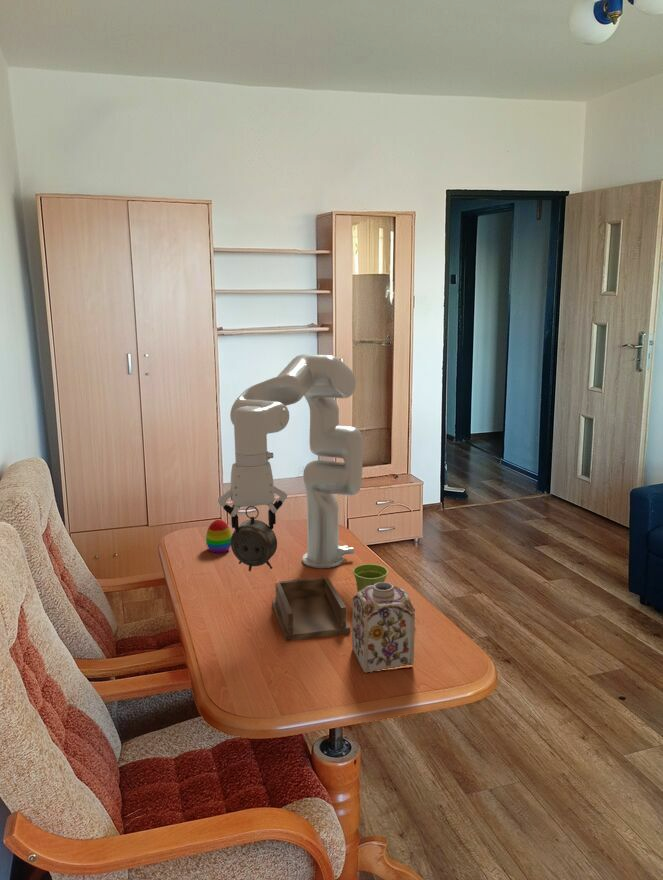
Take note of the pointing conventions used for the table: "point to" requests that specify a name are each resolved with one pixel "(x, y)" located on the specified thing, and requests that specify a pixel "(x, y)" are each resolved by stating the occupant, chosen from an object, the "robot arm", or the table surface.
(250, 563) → the alarm clock
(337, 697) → the table surface
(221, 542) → the decorative egg
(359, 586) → the plant pot
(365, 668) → the decorative jar
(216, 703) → the table surface
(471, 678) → the table surface
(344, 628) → the wooden tray
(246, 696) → the table surface
